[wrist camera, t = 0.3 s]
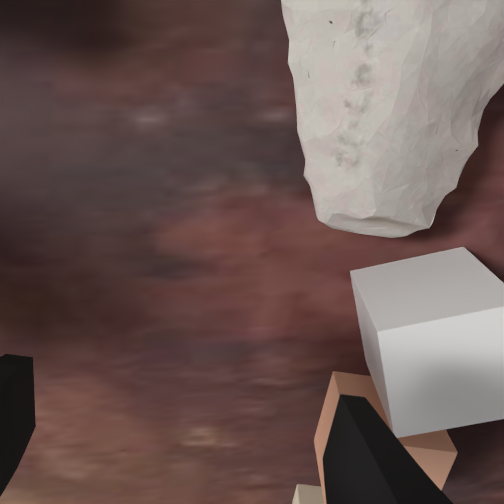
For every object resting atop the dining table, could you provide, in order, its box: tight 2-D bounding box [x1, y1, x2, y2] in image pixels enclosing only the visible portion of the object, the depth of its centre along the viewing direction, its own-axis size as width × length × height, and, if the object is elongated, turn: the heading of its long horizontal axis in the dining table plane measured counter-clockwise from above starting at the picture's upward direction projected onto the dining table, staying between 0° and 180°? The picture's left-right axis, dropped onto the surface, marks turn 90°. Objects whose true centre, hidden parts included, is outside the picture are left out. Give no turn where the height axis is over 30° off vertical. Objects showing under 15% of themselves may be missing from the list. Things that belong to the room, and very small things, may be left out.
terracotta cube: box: [314, 371, 458, 504], centre depth 22 cm, size 4×4×4 cm
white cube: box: [350, 247, 504, 438], centre depth 19 cm, size 5×5×5 cm
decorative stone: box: [281, 0, 504, 238], centre depth 15 cm, size 10×4×15 cm
